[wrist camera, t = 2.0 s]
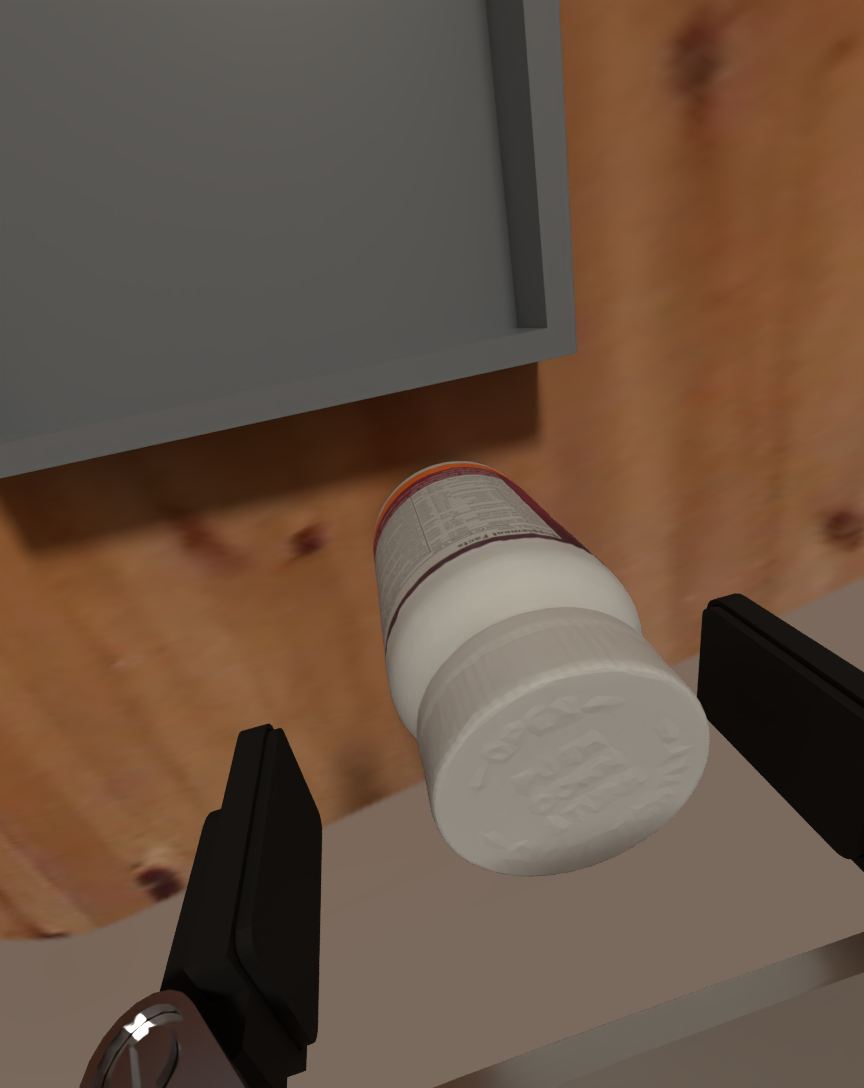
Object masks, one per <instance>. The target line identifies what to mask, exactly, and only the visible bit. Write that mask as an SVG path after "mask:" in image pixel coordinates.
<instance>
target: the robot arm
mask: <svg viewBox="0 0 864 1088" xmlns="http://www.w3.org/2000/svg"><path fill="white" fill-rule="evenodd" d="M697 698H698V700H699V702H700V703H701V706H702V708H703V710H704V712H705V715H706V718H707V719H708V720H709V722H711V724H712V725H713V726H714V727H715V728H716V729H717V730H718V731H719V732H720V733H721V734H722V735H723V736H724V737H725V738H726V739H727V740H728V741H729V742H730V743H731V744H732V745H733V746H734V747H735V748H736V749H737V750H738V751H739V753H740V754H742V756H743V757H744V758H745V759H746V760H747V761H748V762H749V763H750V764H751V765H752V766H753V767H754V768H755V769H756V770H757V771H758V772H759V773H760V774H761V775H762V776H763V777H764V778H765V779H766V780H767V781H768V782H769V783H770V785H771V786H772V787H773V788H774V789H775V790H776V791H777V792H778V793H779V794H780V795H781V796H782V797H783V798H784V799H785V800H786V801H787V802H788V803H789V804H790V805H791V806H792V807H793V808H794V809H795V810H796V811H797V812H798V813H799V814H800V816H802V818H803V819H804V820H805V821H806V822H807V823H808V824H809V825H810V826H811V827H812V828H813V829H814V830H815V831H816V832H817V833H818V834H819V835H820V836H821V837H822V838H823V839H824V840H825V841H826V842H827V843H828V844H829V845H830V846H831V847H832V848H833V849H834V850H835V851H836V852H837V853H838V854H839V855H841V856H842V857H844V858H846V859H851V860H852V861H854V863H855V864H856V865H858V867H859V868H860V869H861V870H862V871H863V872H864V672H863V671H861V670H859V669H858V668H856V667H854V666H853V665H852V664H850V663H848V662H847V661H845V660H844V659H842V658H840V657H839V656H837V655H836V654H834V653H833V652H831V651H830V650H828V649H827V648H825V647H823V646H822V645H820V644H819V643H817V642H816V641H814V640H812V639H811V638H809V637H808V636H806V635H804V634H803V633H801V632H800V631H798V630H797V629H795V628H794V627H792V626H790V625H789V624H787V623H786V622H784V621H783V620H781V619H780V618H778V617H777V616H775V615H773V614H772V613H770V612H769V611H767V610H766V609H764V608H762V607H761V606H759V605H758V604H756V603H755V602H753V601H752V600H750V599H748V598H747V597H745V596H743V595H741V594H736V593H735V594H732V595H728V596H724V597H721V598H717V599H714V600H711V601H710V602H709V603H708V606H707V609H705V610H704V611H703V615H702V629H701V644H700V659H699V675H698V690H697ZM321 856H322V824H321V818H320V814H319V811H318V809H317V807H316V804H315V802H314V800H313V798H312V795H311V793H310V791H309V788H308V786H307V784H306V782H305V779H304V777H303V775H302V772H301V770H300V768H299V765H298V763H297V761H296V759H295V756H294V754H293V752H292V749H291V747H290V745H289V742H288V740H287V738H286V736H285V733H284V731H283V730H282V729H281V728H278V729H275V730H274V728H273V727H272V725H271V724H265V725H262V726H258V727H255V728H251V729H247V730H244V731H241V732H240V733H239V736H238V739H237V743H236V747H235V752H234V756H233V760H232V765H231V769H230V773H229V777H228V782H227V786H226V790H225V794H224V799H223V803H222V807H221V809H219V810H216V811H213V812H211V813H210V814H209V815H208V816H207V818H206V820H205V823H204V825H203V829H202V833H201V836H200V840H199V844H198V848H197V852H196V855H195V859H194V863H193V867H192V871H191V874H190V878H189V882H188V886H187V890H186V894H185V897H184V901H183V905H182V909H181V913H180V916H179V920H178V924H177V928H176V932H175V936H174V939H173V943H172V947H171V951H170V955H169V958H168V962H167V966H166V970H165V974H164V978H163V981H162V985H161V989H160V992H157V993H153V994H151V995H150V996H148V997H146V998H144V999H142V1000H141V1001H139V1002H137V1003H136V1004H135V1005H134V1006H133V1007H131V1008H130V1009H129V1010H128V1011H127V1012H126V1013H124V1014H123V1015H122V1016H121V1017H120V1018H119V1019H118V1020H117V1021H116V1023H115V1024H114V1025H113V1026H112V1028H111V1029H110V1030H109V1031H108V1032H107V1034H106V1035H105V1036H104V1037H103V1039H102V1041H101V1043H100V1044H99V1046H98V1047H97V1049H96V1051H95V1052H94V1054H93V1056H92V1057H91V1059H90V1061H89V1064H88V1066H87V1069H86V1071H85V1074H84V1076H83V1079H82V1082H81V1084H80V1088H287V1077H289V1076H292V1075H295V1074H298V1073H301V1072H303V1071H306V1058H307V1045H310V1044H312V1043H314V1042H315V1041H316V1038H317V1032H318V999H319V998H318V997H319V954H320V953H319V952H320V907H321V860H322V857H321ZM434 1088H864V932H862V933H860V934H857V935H853V936H851V937H848V938H845V939H842V940H839V941H836V942H834V943H831V944H828V945H825V946H822V947H819V948H817V949H814V950H811V951H808V952H805V953H802V954H800V955H797V956H794V957H791V958H788V959H786V960H783V961H780V962H777V963H774V964H771V965H769V966H766V967H763V968H760V969H757V970H755V971H752V972H749V973H746V974H743V975H741V976H738V977H735V978H733V979H729V980H727V981H724V982H721V983H719V984H716V985H713V986H710V987H707V988H704V989H702V990H699V991H696V992H693V993H690V994H688V995H685V996H682V997H680V998H677V999H674V1000H671V1001H668V1002H665V1003H663V1004H660V1005H657V1006H655V1007H652V1008H649V1009H646V1010H643V1011H640V1012H638V1013H635V1014H632V1015H629V1016H627V1017H624V1018H621V1019H618V1020H616V1021H613V1022H610V1023H607V1024H604V1025H602V1026H599V1027H596V1028H594V1029H591V1030H588V1031H586V1032H583V1033H580V1034H577V1035H574V1036H572V1037H569V1038H566V1039H563V1040H561V1041H558V1042H555V1043H553V1044H550V1045H547V1046H544V1047H542V1048H539V1049H536V1050H533V1051H531V1052H528V1053H525V1054H522V1055H520V1056H517V1057H514V1058H512V1059H509V1060H506V1061H503V1062H501V1063H498V1064H495V1065H493V1066H490V1067H487V1068H484V1069H481V1070H479V1071H476V1072H473V1073H471V1074H468V1075H465V1076H462V1077H460V1078H457V1079H455V1080H452V1081H449V1082H447V1083H444V1084H442V1085H439V1086H437V1087H434Z"/></svg>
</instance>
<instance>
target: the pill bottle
mask: <svg viewBox="0 0 864 1088" xmlns="http://www.w3.org/2000/svg"><path fill="white" fill-rule="evenodd" d="M373 551H374V561H375V569H376V577H377V585H378V594H379V603H380V614H381V625H382V632H383V641H384V650H385V663H386V670H387V676H388V682H389V688H390V693H391V697H392V700H393V703H394V706H395V708H396V710H397V713H398V715H399V717H400V719H401V720H402V722H403V723H404V725H405V726H406V728H407V729H408V731H409V732H410V733H411V734H412V735H413V736H414V737H415V739H417V741H418V748H419V753H420V758H421V762H422V765H423V768H424V773H425V779H426V785H427V790H428V796H429V801H430V807H431V811H432V815H433V818H434V821H435V823H436V826H437V828H438V830H439V832H440V834H441V835H442V837H443V839H444V841H445V842H446V843H447V844H448V845H449V846H450V847H451V849H452V850H453V851H454V852H455V853H457V854H458V855H460V856H461V857H462V858H463V859H465V860H467V861H468V862H470V863H472V864H474V865H476V866H478V867H481V868H483V869H486V870H490V871H493V872H496V873H501V874H508V875H516V876H546V875H555V874H559V873H567V872H572V871H575V870H578V869H583V868H586V867H590V866H593V865H595V864H598V863H601V862H603V861H606V860H608V859H610V858H613V857H615V856H617V855H619V854H621V853H623V852H625V851H627V850H629V849H630V848H632V847H634V846H635V845H636V844H638V843H640V842H642V841H643V840H645V839H646V838H648V837H649V836H650V835H652V834H653V833H655V832H656V831H658V830H659V829H660V828H661V827H662V826H663V825H665V824H666V823H667V822H668V821H669V820H670V819H671V818H672V817H673V816H674V815H675V814H676V813H677V812H678V811H679V809H680V808H681V807H682V806H683V805H684V804H685V802H686V801H687V800H688V798H689V797H690V795H691V794H692V793H693V791H694V789H695V787H696V786H697V784H698V782H699V780H700V778H701V776H702V773H703V771H704V768H705V765H706V762H707V759H708V753H709V739H710V738H709V737H710V736H709V735H710V734H709V725H708V721H707V718H706V715H705V712H704V710H703V708H702V706H701V703H700V702H699V700H698V698H697V697H696V696H695V694H694V693H693V692H692V691H691V689H690V688H689V687H688V686H687V685H686V684H685V683H684V681H683V680H682V679H681V678H680V677H679V676H678V675H677V674H676V673H675V672H674V671H673V670H672V669H671V668H670V666H669V665H668V664H667V663H666V662H665V661H664V660H663V659H662V658H661V657H660V656H659V654H658V653H657V652H656V651H655V649H654V648H653V647H652V646H651V645H650V644H649V643H648V642H647V641H646V640H645V639H644V638H643V637H642V630H641V624H640V620H639V617H638V614H637V611H636V608H635V606H634V603H633V601H632V599H631V598H630V596H629V594H628V592H627V591H626V590H625V588H624V587H623V585H622V584H621V583H620V581H619V580H618V579H617V578H616V577H615V576H614V575H613V574H612V573H611V572H610V570H609V569H608V568H607V567H606V566H605V565H604V563H603V562H601V561H600V560H599V559H598V558H596V557H595V556H594V555H593V554H591V553H590V552H589V551H588V550H587V549H586V548H585V547H584V546H583V545H582V544H581V543H580V542H578V541H577V540H576V539H575V538H574V537H573V536H572V535H571V534H570V533H569V532H567V531H566V530H565V529H564V528H563V527H562V526H561V525H560V524H559V523H558V522H557V521H556V520H555V519H554V518H553V517H551V516H550V515H549V514H548V513H547V512H546V511H544V510H543V509H542V508H541V507H540V506H539V505H538V504H537V503H536V502H535V501H534V500H533V499H532V498H531V497H529V496H528V495H527V494H526V493H525V492H524V491H523V490H522V489H521V488H520V487H519V486H518V485H517V484H516V483H514V482H513V481H512V480H511V479H510V478H508V477H507V476H505V475H504V474H502V473H501V472H499V471H497V470H495V469H493V468H491V467H489V466H486V465H483V464H480V463H475V462H469V461H452V462H444V463H440V464H436V465H433V466H429V467H427V468H425V469H422V470H420V471H418V472H416V473H415V474H413V475H412V476H410V477H409V478H407V479H406V480H405V481H403V482H402V483H401V484H400V485H399V486H398V487H397V488H396V489H395V490H394V491H393V492H392V493H391V495H390V496H389V498H388V499H387V500H386V502H385V504H384V505H383V507H382V509H381V511H380V514H379V516H378V518H377V522H376V526H375V530H374V541H373Z"/></svg>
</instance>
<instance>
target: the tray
mask: <svg viewBox="0 0 864 1088" xmlns="http://www.w3.org/2000/svg"><path fill="white" fill-rule="evenodd" d="M575 353H577V342H576V322H575V303H574V283H573V263H572V244H571V224H570V204H569V185H568V165H567V145H566V126H565V106H564V86H563V67H562V47H561V27H560V8H559V0H0V478H5V477H9V476H14V475H18V474H23V473H28V472H32V471H37V470H41V469H46V468H51V467H55V466H60V465H64V464H69V463H74V462H78V461H83V460H87V459H92V458H97V457H101V456H106V455H110V454H115V453H120V452H124V451H129V450H133V449H138V448H143V447H147V446H152V445H156V444H161V443H166V442H170V441H175V440H179V439H184V438H189V437H193V436H198V435H202V434H207V433H212V432H216V431H221V430H225V429H230V428H235V427H239V426H244V425H248V424H253V423H258V422H262V421H267V420H271V419H276V418H281V417H285V416H290V415H295V414H299V413H304V412H308V411H313V410H318V409H322V408H327V407H331V406H336V405H341V404H345V403H350V402H354V401H359V400H364V399H368V398H373V397H377V396H382V395H387V394H391V393H396V392H400V391H405V390H410V389H414V388H419V387H423V386H428V385H433V384H437V383H442V382H446V381H451V380H456V379H460V378H465V377H469V376H474V375H479V374H483V373H488V372H492V371H497V370H502V369H506V368H511V367H515V366H520V365H525V364H529V363H534V362H538V361H543V360H548V359H552V358H557V357H561V356H566V355H571V354H575Z"/></svg>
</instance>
